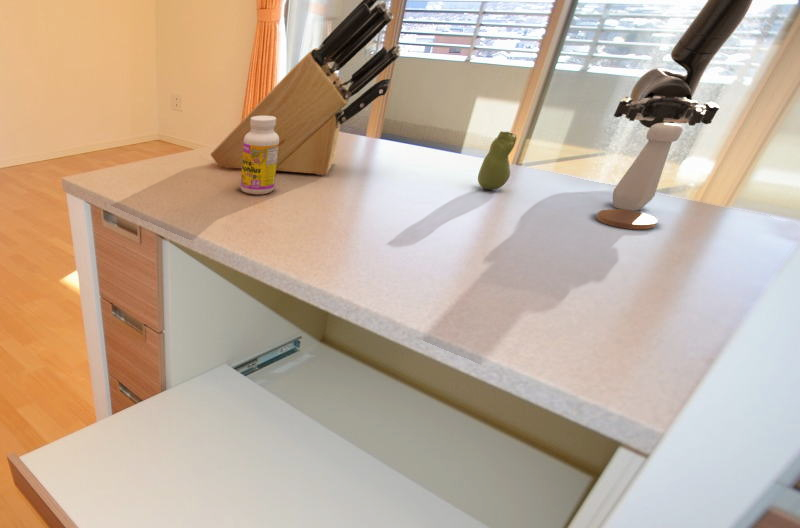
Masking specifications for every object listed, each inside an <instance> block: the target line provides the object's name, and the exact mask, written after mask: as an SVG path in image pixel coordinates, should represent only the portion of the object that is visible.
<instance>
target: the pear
mask: <svg viewBox="0 0 800 528" xmlns="http://www.w3.org/2000/svg"><path fill="white" fill-rule="evenodd" d="M517 138H518V137H517V134H514V133H512V132H510V131H502V130H501V131H500V132H499V133H498V135H497V137H495V139H493V141H492V142H491V144H490V147H489V150H488V153H486V155H485V157H484V159H483V162H482V163H481V166H480V169H479V171H478V175H477V183H478V185H479V186H480V187H481V188H483V189H484V190H489V191H494V190H498V189H500V188H502V187H503V186H504V185H505V184H506V183H507V182H508V181H509V179H510V176H511V168H510V160H509V155H510V154H511V152H512V151H513V149H514V148H515V146H516V143H517Z"/></svg>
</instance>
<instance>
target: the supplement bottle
mask: <svg viewBox="0 0 800 528" xmlns="http://www.w3.org/2000/svg"><path fill="white" fill-rule="evenodd" d="M250 125H251V131H250V132H249V133H247V134H246V135H245V137H244V144H243V158H242V168H241V173H240V185H239V186H240V187H239V188H240V190H241V192H243V193H245V194H249V195H254V196H255V195H256V196H257V195H258V196H259V195H260V196H262V195H266V194H269V193H271V192H273V190H274V188H275V182H276V172H277V170H276V165H277V155H278V147H279V136H278V134H277V133H275V132H274V127H275V125H276V117H273V116H254V117H251V120H250Z"/></svg>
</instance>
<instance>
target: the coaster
mask: <svg viewBox="0 0 800 528" xmlns="http://www.w3.org/2000/svg"><path fill="white" fill-rule="evenodd" d="M595 219H596V220H597V221H598V222H600V223H602V224H604V225H607V226H611V227H614V228H620V229H626V230H638V231H639V230H640V231H641V230H650V229H654V228H655V227H656V225H657V223H658V219H657V218H656V217H654V216H652V215H651V214H648V213H644V212H639V211H630V210H622V209H618V208H611V209H610V208H609V209H602V210H599V211H597V214H596V216H595Z"/></svg>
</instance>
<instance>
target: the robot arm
mask: <svg viewBox="0 0 800 528" xmlns="http://www.w3.org/2000/svg"><path fill="white" fill-rule="evenodd" d="M752 3H753V0H707V2H706V3H705V4H704V6H702V8H701V10H700V11H699V13H698V14H697V15H696V16H695V18H694V19H693V21H692V22H691V23H690V24H689V26H688V27H687V28H686V30H685V32H684V33H683V34H682V36H681V37H680V38H679V39H678V41H677V42H676V44H675V45H674V46H673V48H672V50H671V51H670V58H671V59H672V60H673V62H674V63H676V64H677V65H679V66H680V67H682V68H683V69H685V71H686V74H683V73H679V72H676V71H673V70H669V69H665V68H660V67H657V68H653V69H651V70H649V71H646V72H645V73H644V74H643V75H642V76H641V77H640V78H639V79H637V81H636V83H635V84H634V86H633V87H632V90H631V93H630V96H625V97H622V98H621V99H620V101H619V103H618V105H617V107H616V109H615V112H614V114H613V117H615V118H620V117H622V116H623V115H624V118H625V119H628V121H629V122H635V120H636V121H639V123H640V124H641V125H642V126H644V127H645V128H648V129H650V127H651V126H652V125H654V124H657V123H674V124H687V123H688V126H692V127H693V126H695V125H696V124H701V123H702V124H704V125H709V124H710V125H711V124H712V122H713V119H714V118H715V116H716V114H717V112H718V111H719V109H720V106H719V105H718V104H717V103H716V102H714V101H709V102H706V103H704V104H703V105H699V102H698V101H697V100H693V97H694V95H695V92H696V90H697V88H698V86H699V84H700V82H701V79H702V77H703V75H704V73H705V72H706V69H707V68H708V66H709V64H710V63H711V61H712V60H713V59H714V57H715V56H716V55H717V53H719V51H720V50H721V48H722V47H723V46H724V45H725V43H726V42H727V41H728V40H729V39H730V37H731V36H732V34H734V33H735V31H736V30H737V28H738V27H739V25H740V24H741V23H742V21H743V20H744V18H745V16H746V15H747V13H748V11H749V9H750V8H751V6H752Z"/></svg>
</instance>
